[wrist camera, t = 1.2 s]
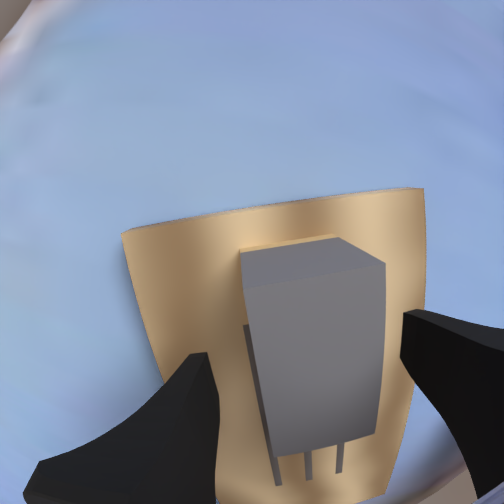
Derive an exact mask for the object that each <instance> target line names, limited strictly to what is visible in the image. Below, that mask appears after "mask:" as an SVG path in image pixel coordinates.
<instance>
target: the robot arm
mask: <svg viewBox="0 0 504 504" xmlns="http://www.w3.org/2000/svg"><path fill="white" fill-rule="evenodd" d="M400 359H401V361H402V363H403V365H404V367H405V368H406V370H407V372H408V373H409V375H410V377H411V378H412V379H413V381H414V382H415V383H416V384H417V386H418V387H419V388H420V390H421V391H422V392H423V393H424V395H425V396H426V397H427V398H428V400H429V401H430V402H431V403H432V405H433V406H434V407H435V408H436V410H437V411H438V412H439V414H440V415H441V416H442V418H443V419H444V421H445V422H446V424H447V426H448V428H449V429H450V431H451V433H452V435H453V437H454V438H455V440H456V442H457V445H458V447H459V449H460V451H461V453H462V455H463V457H464V460H465V462H466V465H467V467H468V470H469V472H470V475H471V478H472V481H473V484H474V488H475V491H476V494H477V499H478V500H477V501H475V502H473V503H472V504H504V329H500V328H493V327H488V326H483V325H479V324H474V323H470V322H466V321H463V320H459V319H455V318H452V317H448V316H445V315H441V314H438V313H434V312H430V311H426V310H421V309H414V310H410V311H407V312H403V323H402V337H401V348H400ZM219 428H220V400H219V393H218V390H217V386H216V383H215V379H214V375H213V372H212V368H211V364H210V361H209V357H208V353H207V352H200V353H192V354H189V355H188V357H187V358H186V359H185V360H184V361H183V363H182V364H181V365H180V366H179V367H178V369H177V370H176V371H175V372H174V373H173V375H172V376H171V377H170V378H169V379H168V380H167V382H166V383H165V384H164V385H163V386H162V387H161V388H160V389H159V390H158V391H157V392H156V393H155V394H154V395H153V396H152V397H151V398H150V399H149V400H148V401H147V402H146V403H145V404H144V405H143V406H142V407H141V408H140V409H138V410H137V411H136V412H135V413H134V414H132V415H131V416H130V417H129V418H127V419H126V420H125V421H123V422H122V423H120V424H119V425H117V426H116V427H114V428H113V429H111V430H110V431H108V432H106V433H105V434H103V435H102V436H100V437H98V438H96V439H95V440H93V441H91V442H89V443H87V444H85V445H83V446H80V447H78V448H76V449H74V450H71V451H69V452H66V453H63V454H60V455H58V456H55V457H52V458H49V459H45V460H42V461H39V463H38V465H37V467H36V469H35V470H34V472H33V474H32V476H31V478H30V480H29V482H28V484H27V486H26V488H25V490H24V492H23V497H24V499H25V501H26V503H27V504H216V495H215V468H216V458H217V448H218V438H219Z"/></svg>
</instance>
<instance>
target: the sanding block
mask: <svg viewBox="0 0 504 504" xmlns="http://www.w3.org/2000/svg"><path fill="white" fill-rule="evenodd" d="M240 258H241V272H242V286H243V293H244V299H245V305H246V310H247V316H248V322H249V327H250V333H251V339H252V344H253V350H254V355H255V361H256V366H257V372H258V377H259V382H260V388H261V393H262V399H263V404H264V409H265V414H266V420H267V425H268V430H269V435H270V440H271V445H272V451H273V456H274V458H275V457H281V456H287V455H293V454H298V453H303V452H308V451H313V450H317V449H321V448H326V447H330V446H334V445H338V444H342V443H345V442H349V441H353V440H356V439H359V438H363V437H366V436H369V435H372V434H375V430H376V423H377V416H378V409H379V401H380V392H381V383H382V372H383V360H384V345H385V323H386V263H385V262H383V261H381V260H379V259H377V258H376V257H374V256H372V255H370V254H368V253H367V252H365V251H363V250H361V249H359V248H358V247H356V246H354V245H352V244H350V243H348V242H347V241H345V240H343V239H341V238H339V237H337V236H335V235H334V234H328V235H322V236H316V237H309V238H303V239H297V240H290V241H284V242H278V243H271V244H265V245H259V246H253V247H246V248H240Z"/></svg>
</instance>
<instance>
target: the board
mask: <svg viewBox="0 0 504 504" xmlns="http://www.w3.org/2000/svg"><path fill="white" fill-rule="evenodd" d="M328 234H334V235H335V236H337V237H339V238H341V239H343V240H345V241H347V242H348V243H350V244H352V245H354V246H356V247H358V248H359V249H361V250H363V251H365V252H367V253H368V254H370V255H372V256H374V257H376V258H377V259H379V260H381V261H383V262H385V263H386V323H385V345H384V360H383V372H382V383H381V392H380V401H379V409H378V416H377V423H376V430H375V434H372V435H369V436H366V437H363V438H359V439H356V440H353V441H349V442H345V443H342V444H338V445H334V446H330V447H326V448H321V449H317V450H313V451H308V452H303V453H298V454H293V455H287V456H281V457H275V458H274V456H273V451H272V445H271V440H270V435H269V430H268V425H267V420H266V414H265V409H264V404H263V399H262V393H261V388H260V382H259V377H258V372H257V366H256V361H255V355H254V350H253V344H252V339H251V333H250V327H249V322H248V316H247V310H246V305H245V299H244V293H243V286H242V272H241V258H240V248H246V247H253V246H259V245H265V244H271V243H278V242H284V241H290V240H297V239H303V238H309V237H316V236H322V235H328ZM121 237H122V242H123V247H124V251H125V255H126V260H127V264H128V268H129V272H130V276H131V280H132V284H133V287H134V291H135V295H136V298H137V302H138V305H139V309H140V312H141V316H142V319H143V322H144V326H145V329H146V332H147V335H148V338H149V341H150V344H151V347H152V350H153V353H154V356H155V359H156V362H157V365H158V368H159V370H160V373H161V376H162V379H163V381H164V384H165V383H166V382H167V380H168V379H169V378H170V377H171V376H172V375H173V373H174V372H175V371H176V370H177V369H178V367H179V366H180V365H181V364H182V363H183V361H184V360H185V359H186V358H187V357H188V355H189V354H192V353H200V352H207V353H208V357H209V361H210V364H211V368H212V372H213V375H214V379H215V383H216V386H217V390H218V393H219V400H220V428H219V438H218V448H217V458H216V468H215V495H216V497H217V499H218V501H219V503H220V504H355V503H358V502H361V501H365V500H368V499H371V498H374V497H377V496H380V495H382V494H385V491H386V489H387V486H388V483H389V480H390V477H391V474H392V471H393V468H394V465H395V462H396V459H397V455H398V452H399V449H400V445H401V442H402V438H403V434H404V430H405V426H406V422H407V418H408V414H409V409H410V405H411V400H412V395H413V390H414V384H415V382H414V381H413V379H412V378H411V377H410V375H409V373H408V372H407V370H406V368H405V367H404V365H403V363H402V361H401V359H400V348H401V337H402V323H403V312H407V311H410V310H414V309H421V310H424V305H425V287H426V218H425V201H424V189H423V188H410V187H406V188H396V189H386V190H377V191H368V192H359V193H350V194H342V195H334V196H326V197H318V198H311V199H303V200H296V201H289V202H282V203H275V204H268V205H262V206H255V207H249V208H242V209H236V210H230V211H224V212H218V213H212V214H206V215H200V216H195V217H189V218H184V219H178V220H173V221H167V222H162V223H157V224H152V225H146V226H141V227H136V228H132V229H129V230H127V231H125V232H123V233H121Z"/></svg>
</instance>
